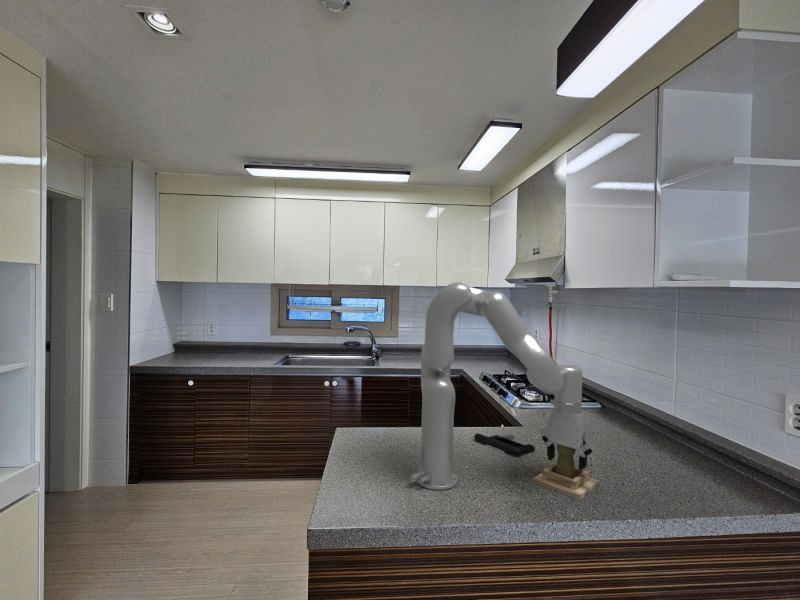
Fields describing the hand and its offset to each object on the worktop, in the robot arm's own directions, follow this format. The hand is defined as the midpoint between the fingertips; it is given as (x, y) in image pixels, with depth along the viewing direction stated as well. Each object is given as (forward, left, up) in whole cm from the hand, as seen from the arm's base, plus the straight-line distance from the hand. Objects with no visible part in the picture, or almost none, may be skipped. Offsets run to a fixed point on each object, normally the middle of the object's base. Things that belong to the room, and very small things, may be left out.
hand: (566, 463), depth 122 cm
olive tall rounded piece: (0, 0, -5) cm, 5 cm away
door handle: (+14, +29, -6) cm, 32 cm away
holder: (0, 0, -6) cm, 6 cm away
